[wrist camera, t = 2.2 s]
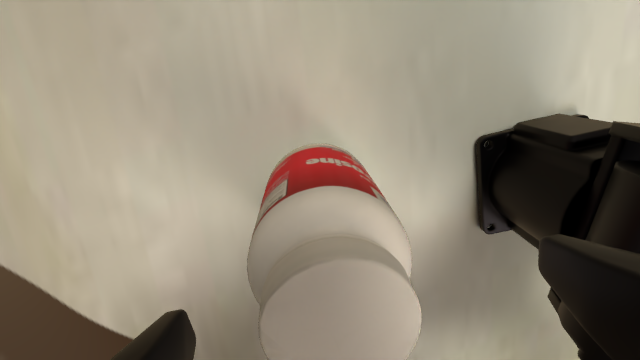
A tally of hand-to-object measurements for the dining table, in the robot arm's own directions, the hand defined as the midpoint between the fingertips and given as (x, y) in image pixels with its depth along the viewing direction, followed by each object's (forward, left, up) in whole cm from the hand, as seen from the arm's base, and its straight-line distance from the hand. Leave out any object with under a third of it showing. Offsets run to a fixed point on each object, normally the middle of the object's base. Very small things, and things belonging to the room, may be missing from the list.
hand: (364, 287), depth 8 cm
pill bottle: (-2, +1, -12) cm, 12 cm away
